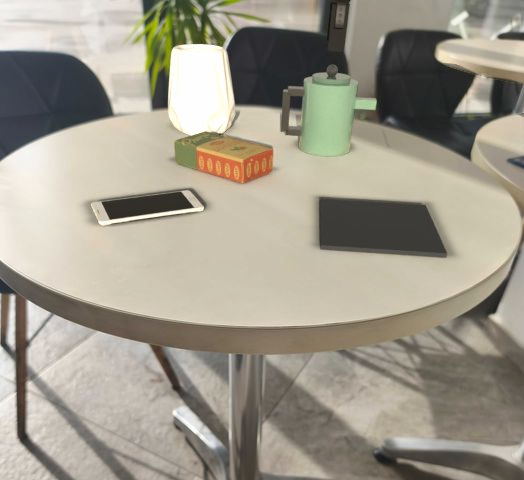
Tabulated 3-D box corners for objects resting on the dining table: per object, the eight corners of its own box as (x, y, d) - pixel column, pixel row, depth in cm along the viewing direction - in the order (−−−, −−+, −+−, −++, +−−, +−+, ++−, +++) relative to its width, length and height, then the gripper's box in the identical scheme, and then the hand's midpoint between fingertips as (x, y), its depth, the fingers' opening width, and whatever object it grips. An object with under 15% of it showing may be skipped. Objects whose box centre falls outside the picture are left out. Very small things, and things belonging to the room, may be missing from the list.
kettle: (366, 143, 101) (378, 62, 92) (370, 159, 94) (384, 71, 85) (281, 139, 102) (286, 58, 93) (278, 153, 95) (283, 66, 85)
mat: (424, 208, 75) (425, 204, 75) (446, 257, 63) (447, 253, 62) (319, 202, 76) (320, 198, 76) (320, 249, 64) (320, 245, 63)
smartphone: (205, 207, 71) (99, 222, 66) (205, 211, 72) (99, 226, 67) (189, 189, 77) (90, 202, 72) (189, 193, 77) (90, 206, 72)
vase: (182, 118, 113) (176, 40, 103) (242, 123, 111) (242, 45, 101) (159, 135, 102) (151, 50, 92) (226, 141, 100) (224, 54, 90)
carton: (242, 185, 81) (242, 158, 78) (174, 163, 88) (171, 138, 86) (273, 172, 86) (274, 147, 83) (206, 152, 94) (205, 129, 91)
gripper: (326, -111, 84) (314, 36, 97) (329, -132, 65) (313, 55, 78) (371, -109, 84) (352, 38, 97) (387, -130, 64) (360, 57, 77)
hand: (334, 45), depth 87 cm, fingers open, 13 cm apart
